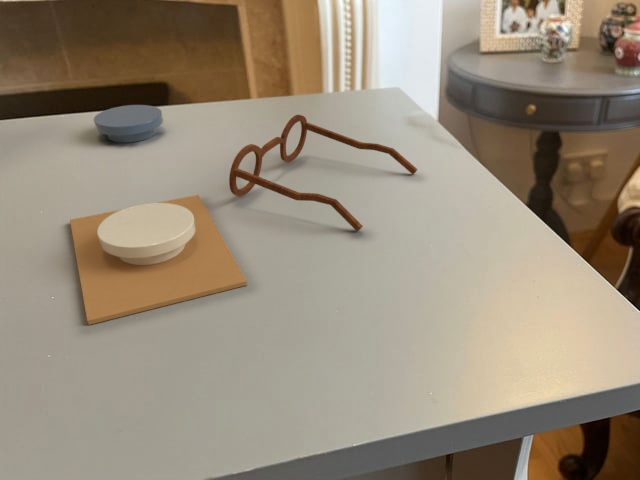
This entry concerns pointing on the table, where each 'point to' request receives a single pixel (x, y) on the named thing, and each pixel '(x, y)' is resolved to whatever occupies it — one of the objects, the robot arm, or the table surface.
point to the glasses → (274, 142)
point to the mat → (152, 269)
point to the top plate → (147, 232)
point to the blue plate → (129, 122)
